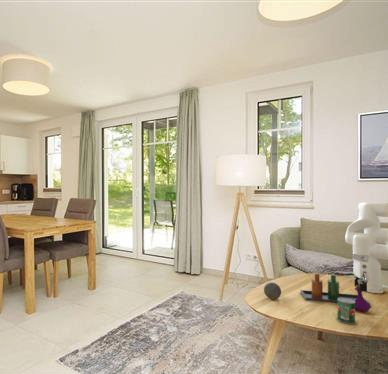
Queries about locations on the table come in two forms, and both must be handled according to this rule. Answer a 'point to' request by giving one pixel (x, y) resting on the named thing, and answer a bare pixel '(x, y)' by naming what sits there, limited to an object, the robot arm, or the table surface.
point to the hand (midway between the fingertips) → (360, 288)
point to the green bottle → (333, 288)
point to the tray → (325, 297)
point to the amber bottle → (317, 287)
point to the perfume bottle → (361, 301)
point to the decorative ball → (272, 290)
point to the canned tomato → (346, 310)
